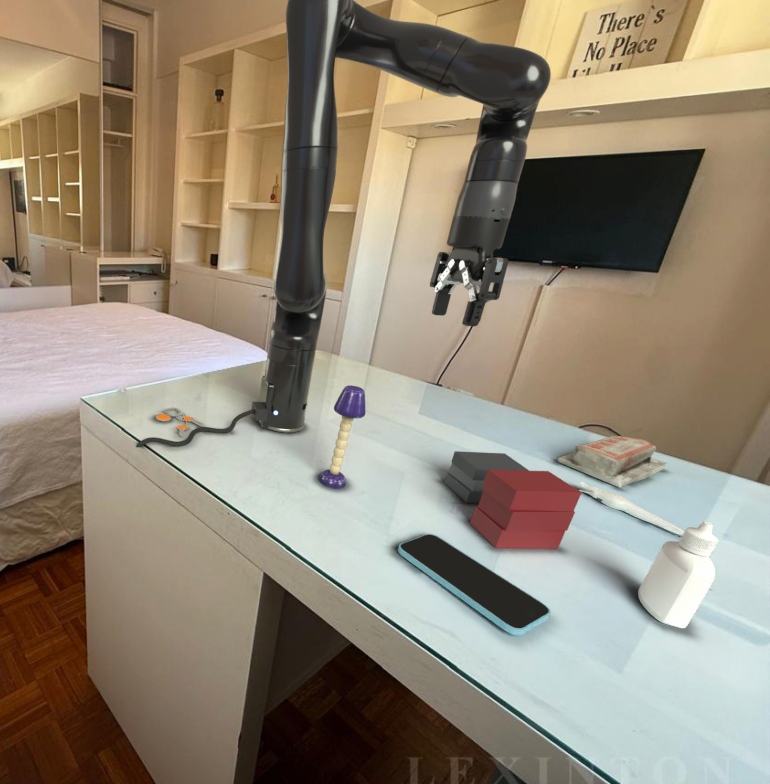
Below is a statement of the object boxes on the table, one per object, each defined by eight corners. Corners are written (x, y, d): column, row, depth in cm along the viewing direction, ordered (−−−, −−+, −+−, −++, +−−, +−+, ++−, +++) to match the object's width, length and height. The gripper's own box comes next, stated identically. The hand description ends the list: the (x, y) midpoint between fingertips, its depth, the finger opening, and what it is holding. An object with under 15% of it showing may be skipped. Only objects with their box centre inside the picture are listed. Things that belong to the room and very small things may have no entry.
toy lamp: (349, 479, 76) (369, 385, 70) (349, 493, 72) (370, 395, 66) (319, 473, 77) (337, 380, 71) (318, 486, 73) (336, 389, 67)
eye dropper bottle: (629, 608, 52) (675, 521, 48) (639, 587, 56) (683, 504, 51) (683, 635, 49) (737, 544, 45) (690, 611, 52) (741, 525, 48)
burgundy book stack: (496, 549, 61) (510, 512, 59) (469, 523, 66) (481, 487, 64) (561, 550, 61) (577, 513, 59) (529, 524, 67) (542, 489, 65)
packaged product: (632, 465, 76) (564, 440, 85) (620, 490, 78) (555, 463, 86) (676, 447, 84) (610, 426, 92) (665, 470, 86) (601, 447, 94)
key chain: (149, 413, 96) (149, 409, 96) (178, 408, 100) (179, 404, 100) (178, 438, 86) (178, 434, 86) (210, 431, 90) (210, 427, 89)
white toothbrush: (571, 490, 77) (575, 480, 76) (580, 487, 78) (584, 478, 77) (689, 546, 64) (695, 535, 63) (698, 542, 65) (704, 531, 64)
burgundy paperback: (509, 510, 59) (516, 491, 58) (481, 487, 64) (487, 469, 63) (573, 511, 60) (582, 492, 59) (541, 489, 65) (548, 470, 64)
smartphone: (431, 532, 62) (555, 610, 49) (429, 538, 62) (552, 618, 50) (395, 545, 59) (517, 632, 46) (393, 552, 59) (514, 641, 47)
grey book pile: (466, 503, 71) (477, 469, 69) (442, 481, 77) (452, 450, 75) (522, 504, 72) (534, 471, 70) (494, 482, 78) (505, 451, 76)
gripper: (431, 214, 76) (409, 311, 81) (490, 213, 63) (458, 328, 68) (474, 217, 76) (449, 313, 82) (541, 216, 63) (505, 331, 69)
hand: (453, 320), depth 75 cm, fingers open, 8 cm apart
